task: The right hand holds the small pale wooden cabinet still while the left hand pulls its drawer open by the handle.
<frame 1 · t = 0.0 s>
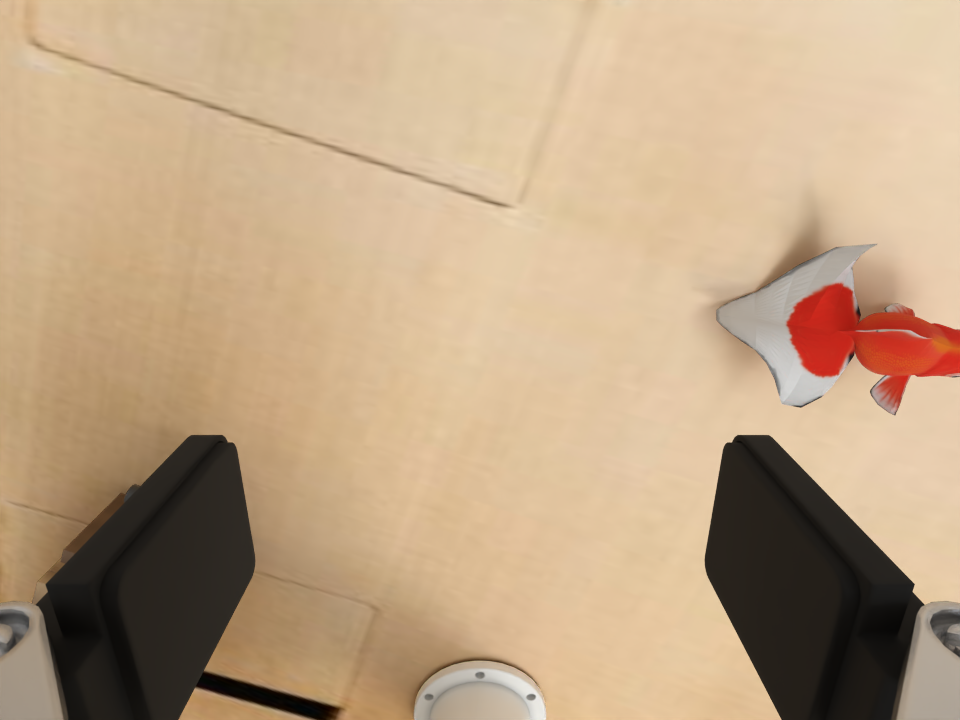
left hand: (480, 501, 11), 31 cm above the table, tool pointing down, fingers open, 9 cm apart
cabinet: (149, 616, 52), on the table
fish: (809, 320, 42), on the table
drawer: (138, 610, 46), point 4 cm above the table, slide at 1.1 cm
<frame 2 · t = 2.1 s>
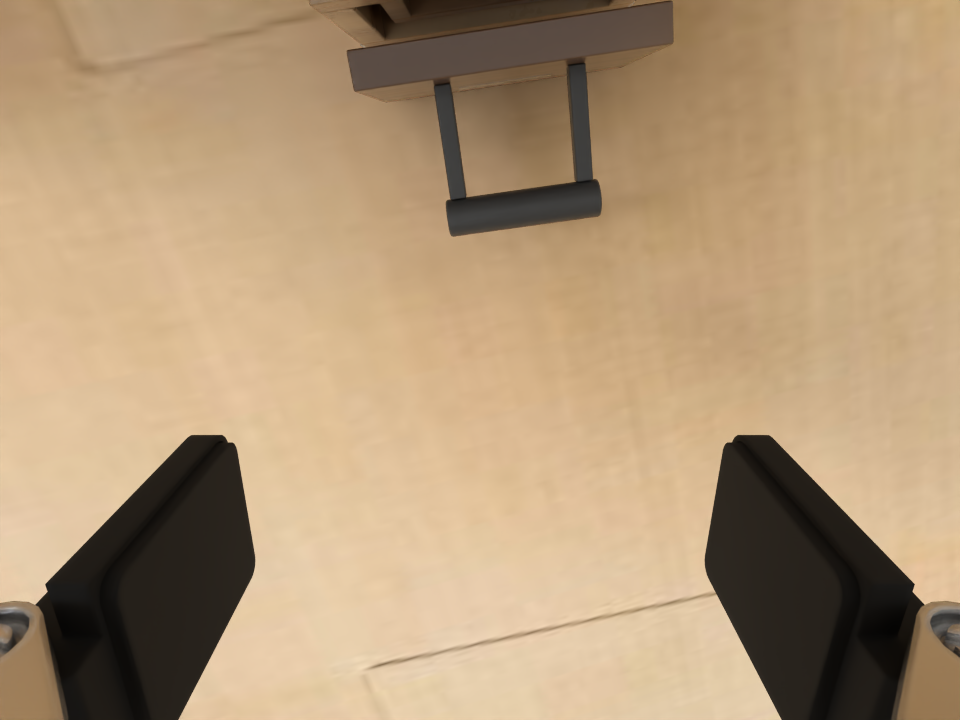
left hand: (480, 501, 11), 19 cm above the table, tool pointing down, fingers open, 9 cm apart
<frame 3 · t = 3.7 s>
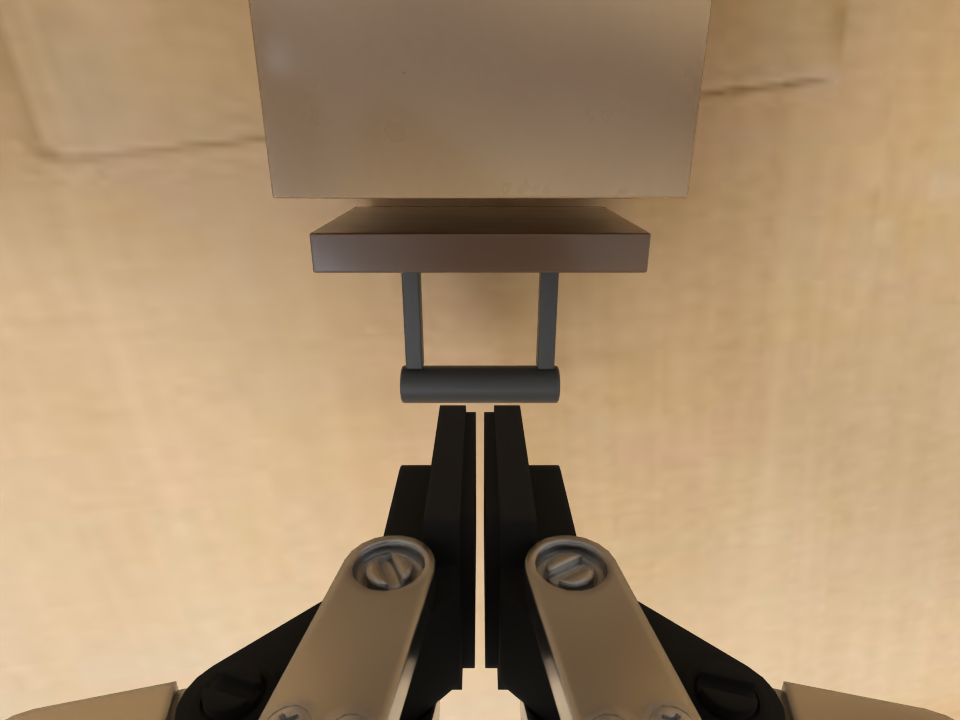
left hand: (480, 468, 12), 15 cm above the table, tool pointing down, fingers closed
drawer: (480, 21, 18), point 4 cm above the table, slide at 1.1 cm
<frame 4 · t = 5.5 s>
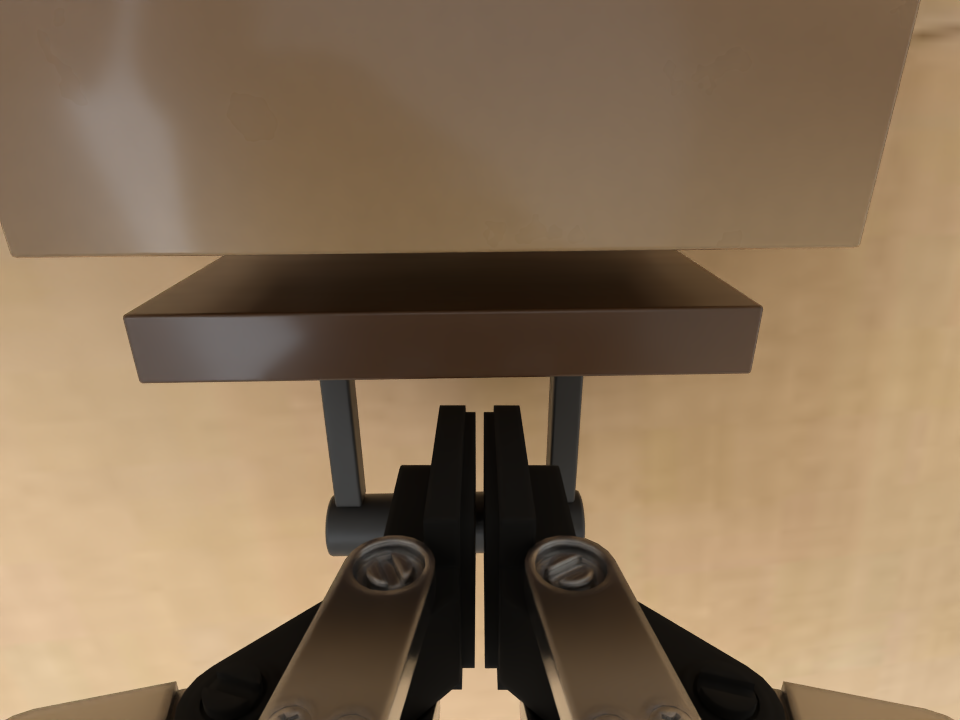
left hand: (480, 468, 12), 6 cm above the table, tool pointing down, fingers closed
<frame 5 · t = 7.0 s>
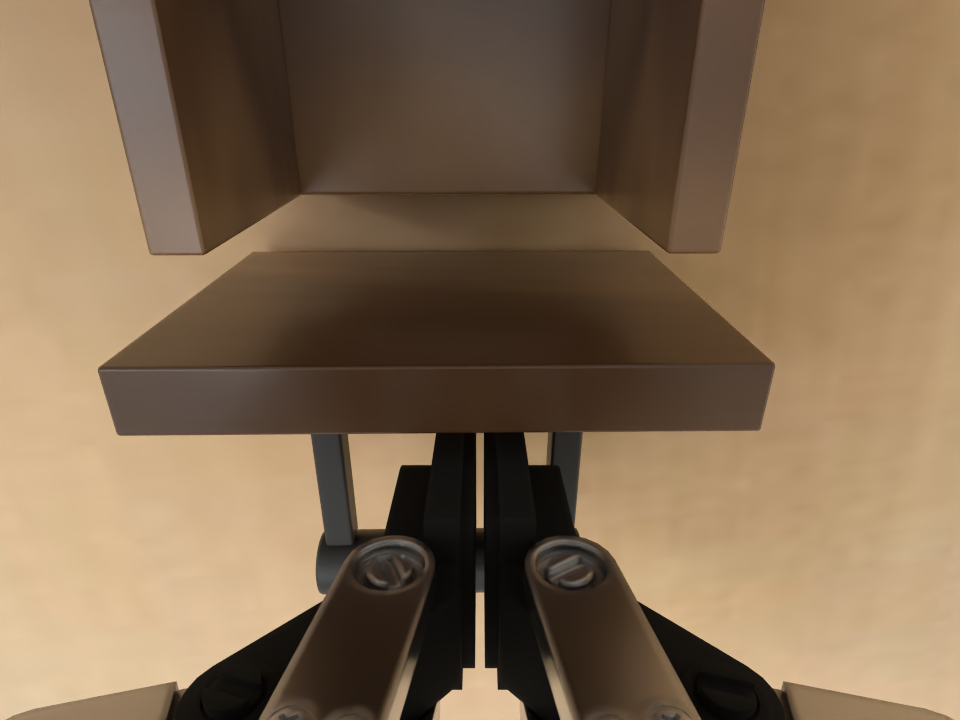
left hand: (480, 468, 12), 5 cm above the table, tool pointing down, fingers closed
when the right hand's fingers open (4 cm above the table, at t = 8.7 s): cabinet stays where it is, on the table.
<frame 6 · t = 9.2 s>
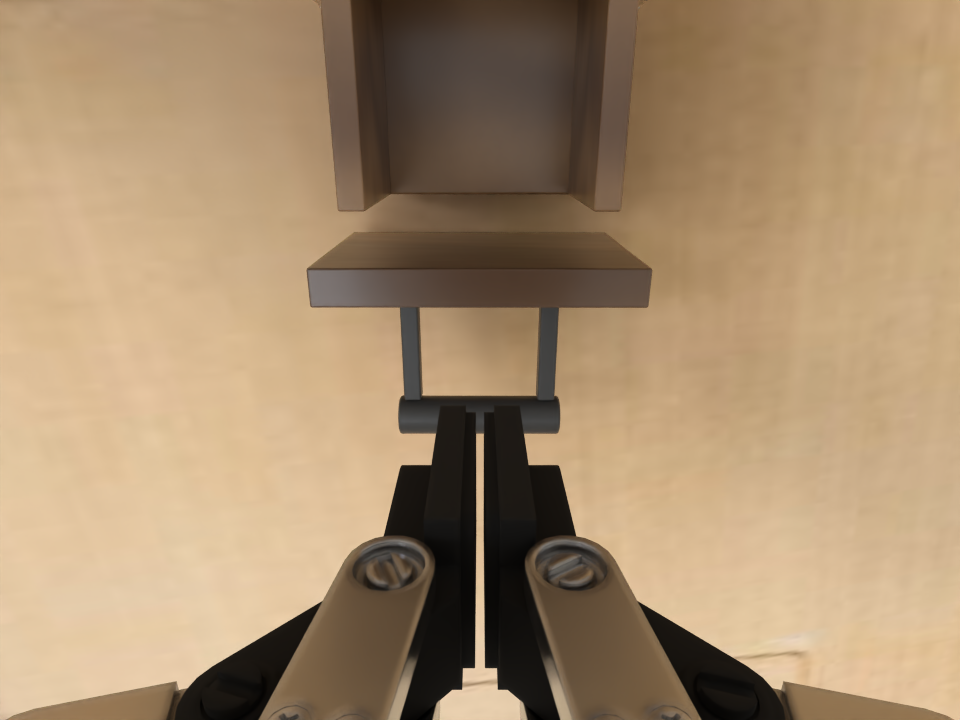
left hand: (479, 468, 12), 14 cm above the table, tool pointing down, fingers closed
drawer: (479, 52, 18), point 4 cm above the table, slide at 7.9 cm
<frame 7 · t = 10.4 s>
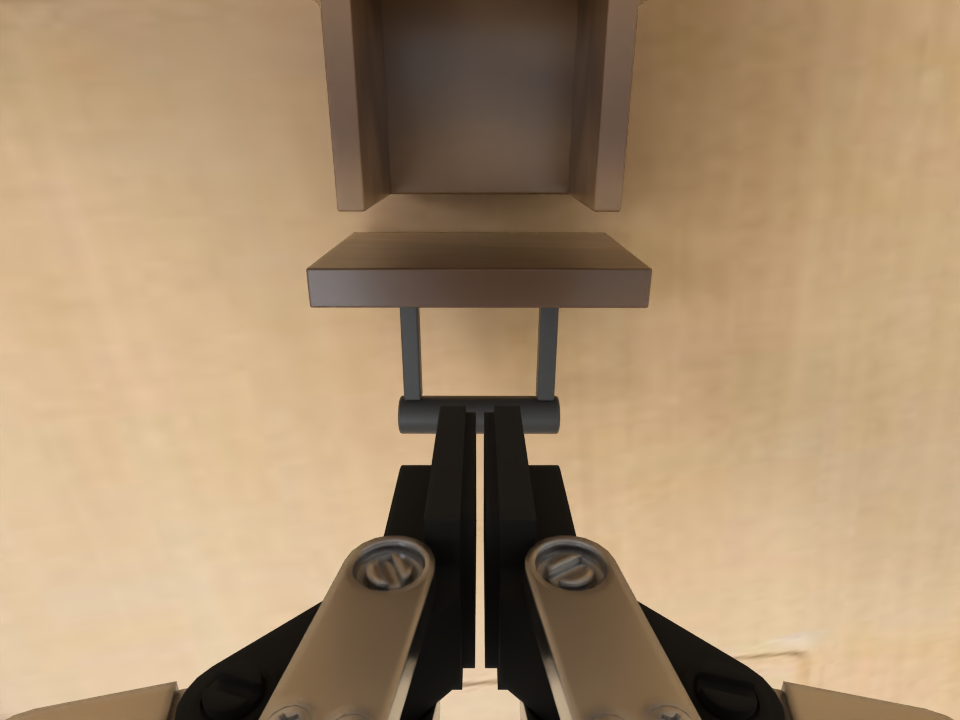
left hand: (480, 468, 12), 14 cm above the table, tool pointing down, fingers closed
drawer: (479, 52, 18), point 4 cm above the table, slide at 7.9 cm
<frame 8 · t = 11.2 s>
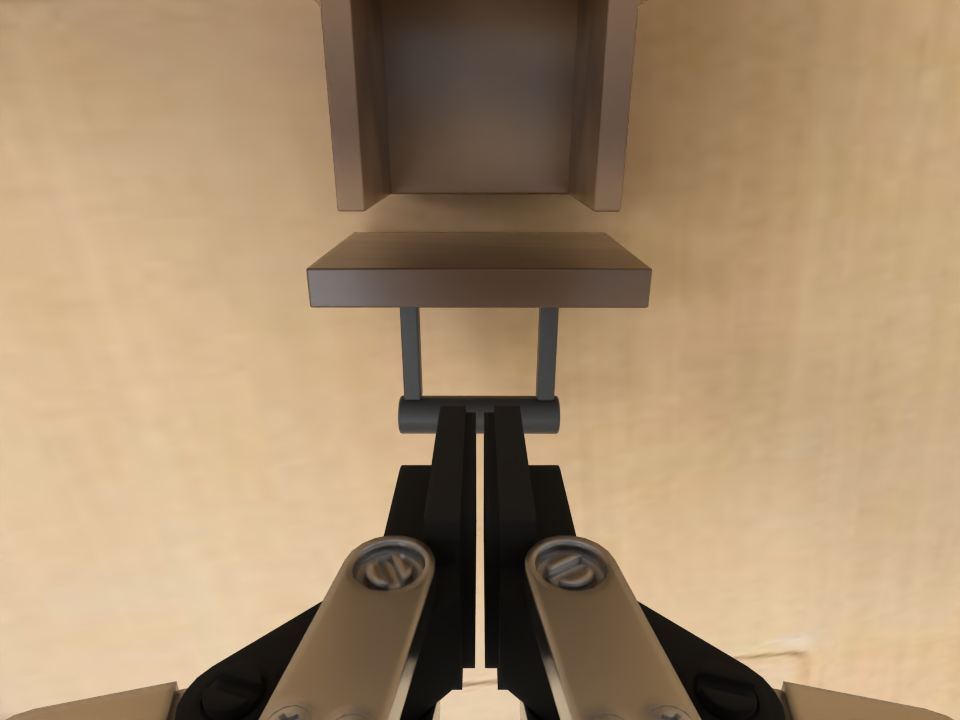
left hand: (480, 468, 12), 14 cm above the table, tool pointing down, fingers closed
drawer: (479, 52, 18), point 4 cm above the table, slide at 7.9 cm
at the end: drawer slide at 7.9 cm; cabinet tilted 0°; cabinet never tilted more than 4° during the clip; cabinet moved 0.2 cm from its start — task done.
